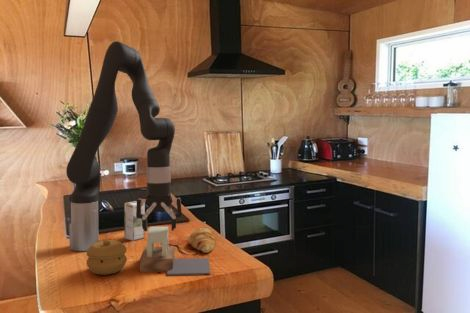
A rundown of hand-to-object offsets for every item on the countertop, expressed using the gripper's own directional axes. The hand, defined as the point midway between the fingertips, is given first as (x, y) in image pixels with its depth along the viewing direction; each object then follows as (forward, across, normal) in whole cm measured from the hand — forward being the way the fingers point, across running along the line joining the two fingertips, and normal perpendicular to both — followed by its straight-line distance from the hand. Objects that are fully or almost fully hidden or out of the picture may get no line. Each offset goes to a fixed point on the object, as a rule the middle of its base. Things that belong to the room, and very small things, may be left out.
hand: (159, 230), depth 125 cm
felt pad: (+11, +9, -3) cm, 15 cm away
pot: (+11, -16, -5) cm, 20 cm away
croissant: (+12, +14, +19) cm, 26 cm away
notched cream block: (+7, 0, 0) cm, 7 cm away
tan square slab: (+11, -1, 0) cm, 11 cm away
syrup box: (+11, -12, +30) cm, 34 cm away
